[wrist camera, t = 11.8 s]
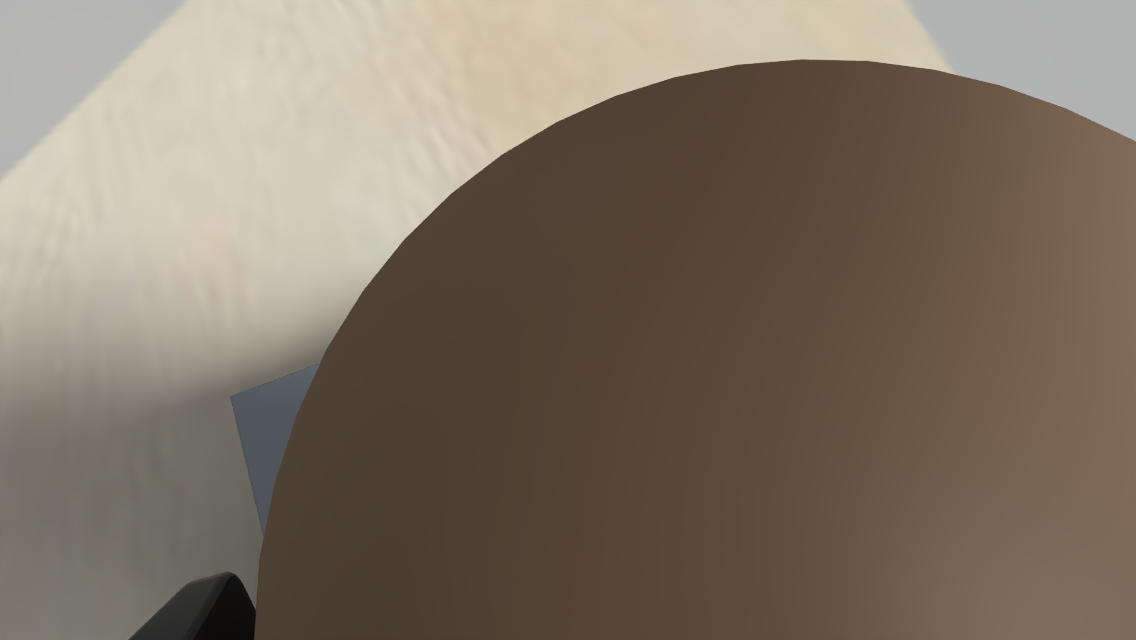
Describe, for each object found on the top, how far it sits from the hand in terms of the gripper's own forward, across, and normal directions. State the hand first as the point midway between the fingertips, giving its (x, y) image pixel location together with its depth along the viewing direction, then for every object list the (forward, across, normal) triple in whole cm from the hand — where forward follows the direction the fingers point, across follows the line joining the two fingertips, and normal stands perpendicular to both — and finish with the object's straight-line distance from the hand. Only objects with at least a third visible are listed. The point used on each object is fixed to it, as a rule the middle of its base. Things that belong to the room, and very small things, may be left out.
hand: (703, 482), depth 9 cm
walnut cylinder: (+5, 0, +7) cm, 8 cm away
